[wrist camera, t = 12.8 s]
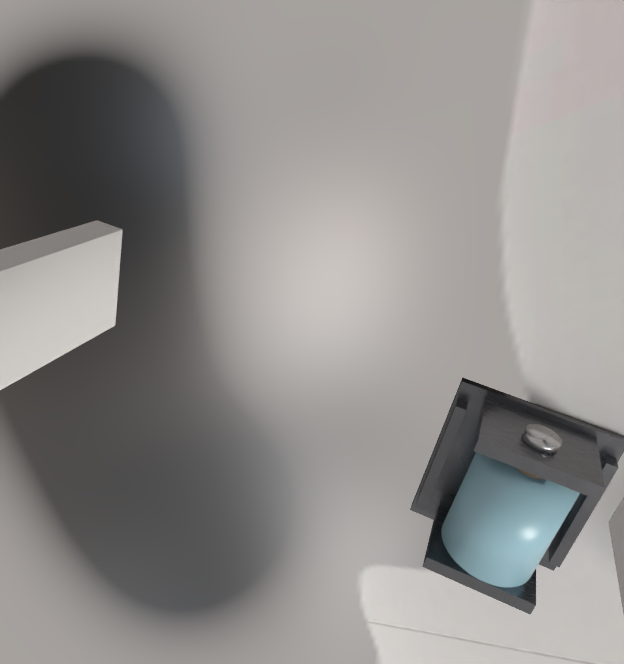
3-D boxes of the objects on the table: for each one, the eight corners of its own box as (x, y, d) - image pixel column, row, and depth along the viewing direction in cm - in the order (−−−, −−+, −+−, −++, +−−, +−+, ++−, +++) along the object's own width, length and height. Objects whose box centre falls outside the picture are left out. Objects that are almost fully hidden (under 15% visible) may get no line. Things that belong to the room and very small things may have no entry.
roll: (493, 419, 44) (468, 464, 38) (586, 464, 42) (574, 519, 36) (456, 499, 48) (428, 550, 42) (540, 545, 45) (522, 606, 40)
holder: (463, 376, 44) (451, 420, 38) (628, 437, 41) (643, 493, 35) (411, 506, 50) (394, 560, 44) (553, 566, 47) (555, 632, 41)
